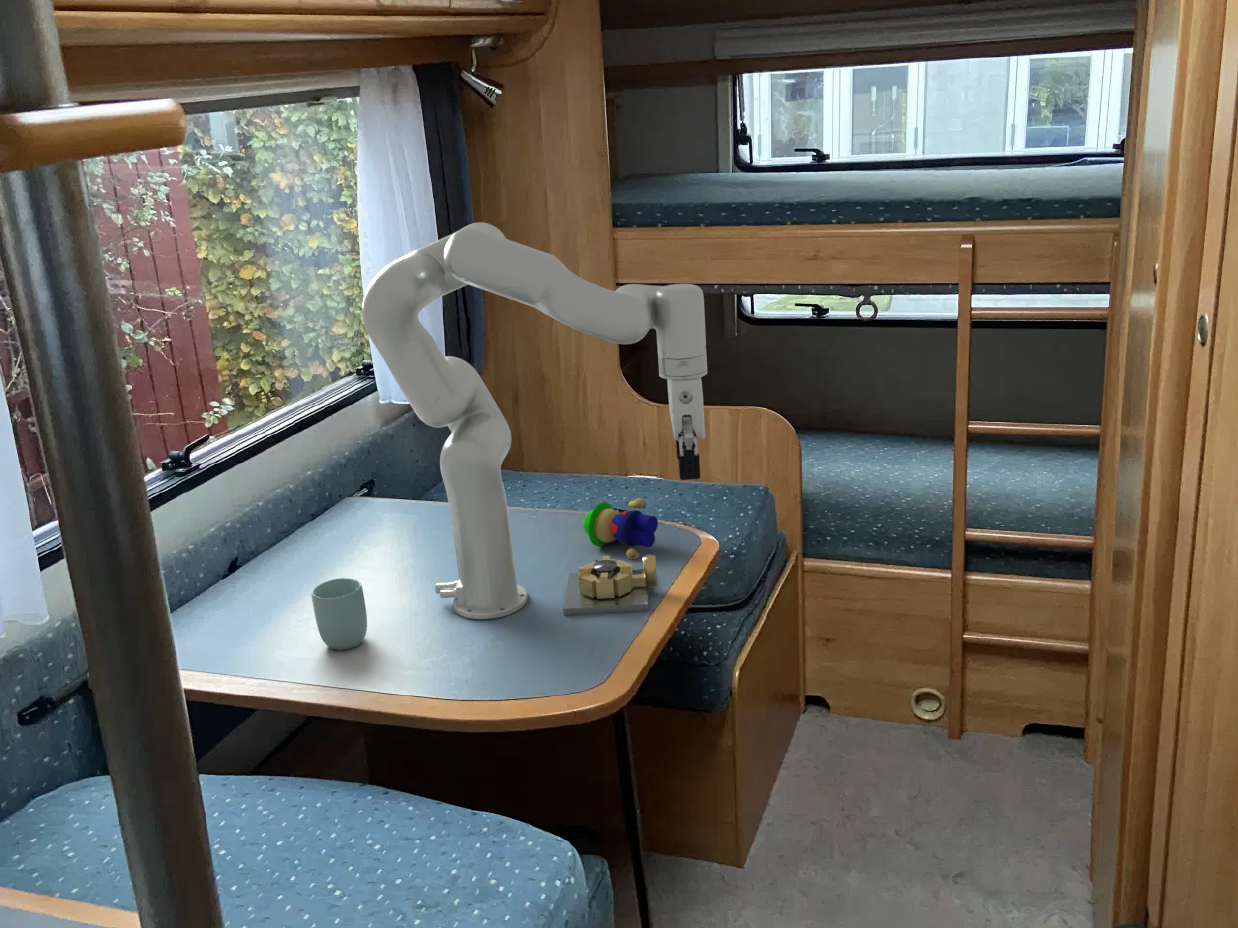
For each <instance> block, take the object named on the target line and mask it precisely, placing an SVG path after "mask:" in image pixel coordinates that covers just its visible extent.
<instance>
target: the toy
mask: <svg viewBox="0 0 1238 928" xmlns="http://www.w3.org/2000/svg"><path fill="white" fill-rule="evenodd" d="M628 506H629V507H631V508H634V510H627V509H621V508H617V507H616V508H615V507H613V506H612V505H611V504H610V503H609V502H607V501H602V502H599V503H598V504H597V505H596V506H595V507H594V509H592V510H589V511H588V512H587V513H586V514H585V516H584V518H583V520H582V525H583V526H582V527H583V529H584V531H585V532H584V533H586V535H588V537H589V540H590V542H591V544H592V545H594V546H595V547H602V546H604V545H605V544H607V543H611V542H613V543H619V544H623V545H625V546H627V547H630V548H629V549H627V550H626V553H625V554H626V557H627V558H628V559H630V560H635V559H638V558H639V556H640V553H639V552H638V551H637V549H635V548H634V547H636V546H638V547H643V548H651V547H652V546H654V544H655V542H656V541H655V540H656V534H655V532H656V531H657V529H658V526H659V522H658V518H657V517H656V516H655V515H649V514H645V513H643V512H642V511H640V510H641V509H646V507H647V503H646V501H645V500H644V499H643V498H641V497H638V498H636V499H635V500H631V501H629V503H628ZM637 509H639V510H637Z"/></svg>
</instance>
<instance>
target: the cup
mask: <svg viewBox="0 0 1238 928" xmlns="http://www.w3.org/2000/svg"><path fill="white" fill-rule="evenodd" d="M310 597H311V601H312V606H313V607H312V608H313V613H314V618H315V621H316V625H317V631H318V633H319V636H320V638H321V640H322V641H323V643H324V644H325V646H327V647H328V648H330V649H333V650H337V651H346V650H350V649H353V648H355V647H357V646H358V645H360V644H361V643H362V642H363V641H364V639H365V637H366V635H367V630H368V614H367V609H366V606H367V605H366V601H365V600H366V599H365V595H364V589H363V586H362V583H361V582H360V581H359V580H358V579H354V578H350V577H339V578H338V577H337V578H333V579H330V580H327V581H324V582H322V583H319V584H318V585H316V586H315V587H314V588H313V589H312V591H311V596H310Z"/></svg>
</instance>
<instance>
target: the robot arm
mask: <svg viewBox="0 0 1238 928" xmlns="http://www.w3.org/2000/svg"><path fill="white" fill-rule="evenodd" d="M468 285H469V286H471V287H474V288H478V289H479V290H483V291H486V292H489V293H492V294H494V295H498V296H501V297H504V298H507V299H509V300H511V301H512V300H513V301H516V302H518V303H520V304H524V305H526V306H529V307H532V308H534V309H536V310H538V311H539V312H541V313H543V314H544V315H546V316H548V317H550V318H552V319H554V320H556V321H557V322H560V323H561V324H563V325H565V326H567V327H569V328H572V329H573V330H576V331H578V332H580V333H583V334H585V335H589V336H593V337H596V338H599V339H602V340H605V341H607V342H610V343H614V344H618V345H619V344H620V345H632V344H636V343H638V342H639V341H641V340H643V338H644V337H646V335H647V334H648V333H649V330H651V329H654V330H655V331H656V345H657V359H658V360H657V362H658V376H659V377H660V378H662V379H664V380H666V381H667V382H666V383H667V394H668V395H667V396H668V405H669V407H668V408H669V416H670V423H671V428H672V432H673V437H674V440H675V444H676V445H675V446H676V459H677V460H678V469H679V470H678V472H679V479H680V480H681V481H687V480H699V479H701V466H700V465H701V464H700V454H699V451H698V441H697V438H698V439H701V440H705V438H706V427H705V426H706V425H705V413H704V410H705V409H704V407H705V406H704V393H703V383H702V382H703V381H702V377H704V376H706V375H708V361H707V360H708V359H707V356H708V355H707V340H706V339H707V337H706V336H707V335H706V317H705V313H706V312H705V298H704V296H705V295H704V293H703V289H701V286H698V285H696V284H693V283H675V284H667V285H664V286H663V285H662V286H661V285H651V284H640V283H639V284H638V283H630V284H629V283H628V284H624V285H622V286H620V287H618V288H616V290H611V289H610V288H606V287H603V286H600V285H598V284H595V283H593V282H590V281H588V280H586V279H584V278H581V277H580V276H578V275H576V274H575V273H574V272H572V271H571V270H569V268H568V267H566V265H565V263H563V262H562V261H561V260H560V259H558V258H557V257H556V256H555V255H553V254H551V253H548V252H547V251H546V252H545V251H542V250H539V249H536V248H534V247H530V246H529V245H524V244H522V243H519V242H516V241H513V240H510V239H508V238H506V236H505V235H504V233H503V232H502V231H501V230H500V229H499V228H497V227H496V226H494V225H492V224H490V223H487V222H473V223H471V224H468V225H466V226H464V227H462V228H461V229H459V230H456V231H455V232H453V233H450V234H449V235H446V236H444V237H442V238H440V239H438V240H436V241H433V242H431V243H429V244H427V245H424V246H422V247H420V248H418V249H416V250H413V251H411V252H410V253H407V254H405V255H403V256H401V257H399V258H398V259H395V260H393V261H392V262H390V263H389V264H388V263H387V265H385V266H384V267H382V269H380V271H378V273H377V274H376V275H375V276H374V277H373V278H372V281H370V284H369V285H368V287H367V289H366V290H365V291H366V292H365V293H364V297H363V300H362V308H361V309H362V310H361V311H362V313H361V314H362V321H363V325H364V328H365V331H366V333H367V335H368V337H369V338H370V340H371V341H372V343H373V345H374V347H375V348H376V350H377V351H378V353H379V355H380V356H381V358H382V359H383V361H384V362H385V364H386V366H387V368H388V369H389V371H390V373H391V374H392V377H393V378H394V380H395V382H396V383H397V385H398V387H399V389H400V390H401V392H402V393H403V395H404V397H405V398H406V399H407V401H408V403H409V405H410V406H411V408H412V410H413V411H414V413H415V415H416V416H417V418H418V419H419V420H420V421H422V422H423V423H424V424H425V425H426V426H429V427H432V428H438V429H439V428H444V427H448V428H449V431H450V432H451V433H450V435H449V436H448V437H447V438H446V440H445V442H444V444H443V446H442V448H441V452H440V457H439V465H440V466H439V467H440V473H441V477H442V481H443V484H444V488H445V491H446V495H447V501H448V507H449V516H450V521H451V527H452V535H453V541H454V542H453V543H454V549H455V557H456V558H455V559H456V566H457V574H458V579H454V580H453V581H449V582H447V581H440V582H438V581H437V582H436V583H435V587H434V588H435V593H436V594H437V595H438V594H439V596H440V599H448V598H453V601H452V602H453V603H452V604H453V610H454V611H455V613H457V615H459V616H462V617H464V618H467V619H472V620H490V619H491V620H492V619H497V618H502V617H505V616H508V615H511V614H514V613H515V612H518V611H519V610H520V609H522V608H523V607H524V606H525V605H526V603H527V601H528V592H527V590H526V589H525V588H524V587H523V586H521V585H520V584H517V575H516V567H515V558H514V550H513V542H512V541H513V540H512V535H511V534H512V533H511V532H512V531H511V524H510V523H511V522H510V517H509V515H510V514H509V509H508V501H507V495H506V489H505V486H504V482H503V478H502V471H501V470H502V469H501V467H502V464H503V462H504V460H505V458H506V457H507V455H508V453H509V451H510V449H511V445H512V432H511V428H510V426H509V424H508V421H507V420H506V418H505V416H504V415H503V413H502V411H501V409H500V408H499V406H498V404H497V402H496V401H495V399H494V398H493V395H492V394H491V393H490V390H489V389H488V388H487V385H486V384H485V382H484V380H483V379H482V378H481V375H480V374H479V373H478V372H477V371H478V370H476V369H475V367H473V366H472V365H471V364H470V363H469V362H467V361H466V360H464V359H462V358H461V357H460V358H459V357H458V356H457V357H456V356H450V355H447V356H444V355H443V353H442V351H441V350H440V348H439V346H438V344H437V343H436V341H435V339H434V338H433V336H432V334H431V333H430V332H429V330H428V329H426V327H424V326H423V325H424V324H422V323H421V322H420V319H419V313H420V312H421V311H422V310H423V309H424V308H426V307H428V306H430V304H431V303H433V302H434V301H436V300H438V299H440V298H441V297H443V296H446V295H448V294H449V293H452V292H454V291H456V290H459V289H461V288H464V287H466V286H468Z"/></svg>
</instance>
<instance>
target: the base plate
mask: <svg viewBox="0 0 1238 928" xmlns="http://www.w3.org/2000/svg"><path fill="white" fill-rule="evenodd" d="M598 560H599V559H597V560H594V561H595V562H596V563H594V565H593V569H594V571H596V572H597V574H598V577H600V576H601V573H607V572H608V577H609V576H613V575H614V570H616V569H617V563H616V562H615V561H616V560H615V561H613V560H611V559H610V560H602V559H600V560H601V561H598ZM632 570H633V575H639V574H644V573H643V568H640V569H632ZM649 588H650V587H647V586H640V587H633V589H631V591H630V592H628V593H625V594H623V595H621V596H619V597H618V596H616V595H615V597H614V598H600V599H597V596H596V597H594V598H591V597H589V596H587V595H584V594H582V593H581V592H580V585H579V572H573V573H572V572H570V573H569V574H568V578H567V583H566V590H565V595H564V596H565V597H564V601H563V606H562V613H563V616H575V615H577V616H579V615H595V614H596V615H597V614H613V613H614V614H615V613H629V612H647V611H649Z"/></svg>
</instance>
